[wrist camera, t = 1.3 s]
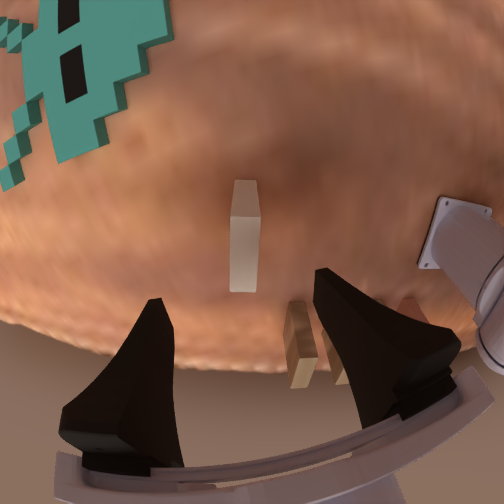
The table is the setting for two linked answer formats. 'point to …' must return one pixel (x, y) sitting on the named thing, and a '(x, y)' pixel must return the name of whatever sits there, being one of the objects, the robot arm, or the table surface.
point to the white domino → (244, 236)
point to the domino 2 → (334, 361)
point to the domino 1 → (299, 345)
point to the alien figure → (78, 70)
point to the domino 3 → (411, 310)
